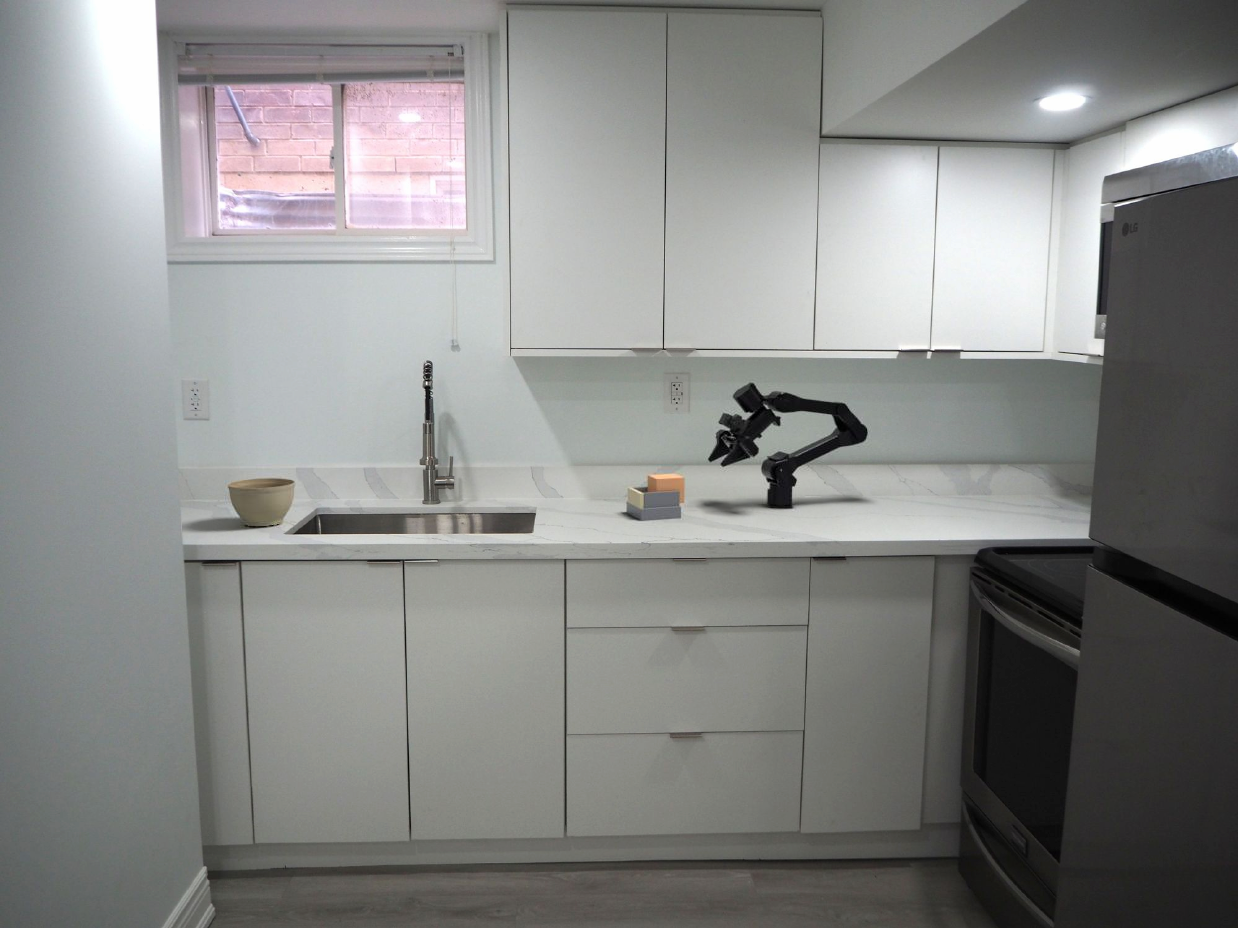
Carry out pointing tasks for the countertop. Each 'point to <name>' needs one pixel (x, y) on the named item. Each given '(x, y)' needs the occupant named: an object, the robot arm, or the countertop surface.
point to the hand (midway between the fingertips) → (715, 463)
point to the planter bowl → (262, 500)
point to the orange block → (667, 484)
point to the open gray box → (653, 504)
